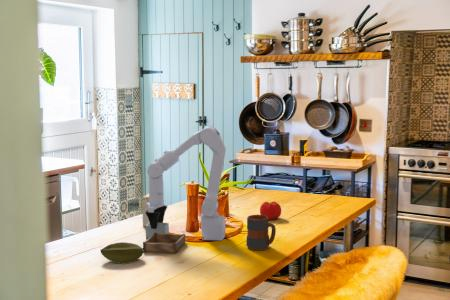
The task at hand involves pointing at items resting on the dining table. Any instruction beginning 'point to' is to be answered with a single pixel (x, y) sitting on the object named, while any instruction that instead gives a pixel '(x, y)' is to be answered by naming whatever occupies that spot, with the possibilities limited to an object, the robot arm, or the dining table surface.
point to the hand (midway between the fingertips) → (157, 226)
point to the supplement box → (145, 209)
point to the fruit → (122, 252)
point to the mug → (259, 232)
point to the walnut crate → (164, 243)
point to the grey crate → (161, 229)
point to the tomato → (270, 210)
